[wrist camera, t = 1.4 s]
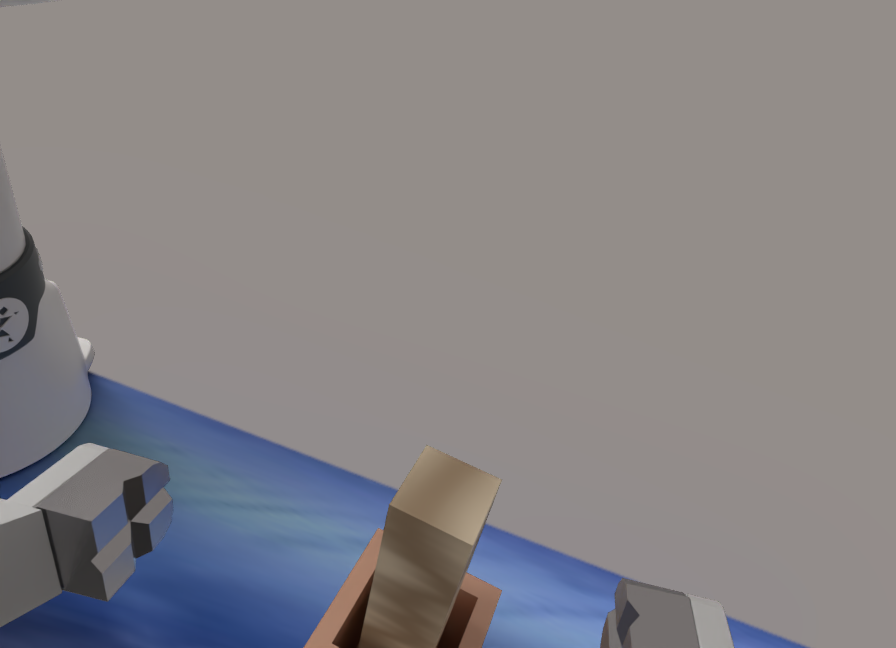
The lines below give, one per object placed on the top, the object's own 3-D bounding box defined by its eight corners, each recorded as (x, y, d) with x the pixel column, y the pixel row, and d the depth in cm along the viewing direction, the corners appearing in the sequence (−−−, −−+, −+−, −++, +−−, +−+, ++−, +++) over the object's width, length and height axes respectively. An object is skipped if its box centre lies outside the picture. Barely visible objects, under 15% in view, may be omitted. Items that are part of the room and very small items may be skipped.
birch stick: (346, 703, 32) (389, 504, 21) (375, 646, 34) (426, 444, 24) (400, 735, 31) (473, 545, 21) (426, 674, 34) (501, 479, 23)
